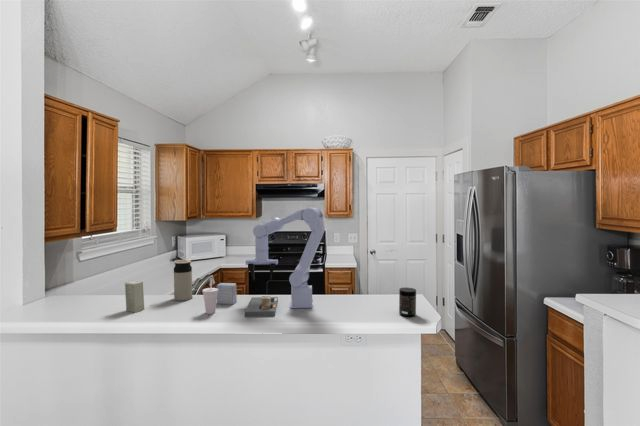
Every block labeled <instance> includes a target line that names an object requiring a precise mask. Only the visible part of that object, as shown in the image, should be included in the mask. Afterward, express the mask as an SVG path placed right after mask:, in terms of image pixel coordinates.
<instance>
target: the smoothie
mask: <svg viewBox="0 0 640 426" xmlns="http://www.w3.org/2000/svg"><path fill="white" fill-rule="evenodd" d="M209 280H210V282H209V283H210V287H207V288H203V289H202V295H203V300H204V308H205V309H204V310H205V314H207V315H212V314H215V313H216V310H217V292H218V288H217V287H213V286H212V285H213V283H212V282H213V279H212V278H210V279H209Z"/></svg>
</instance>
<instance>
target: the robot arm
mask: <svg viewBox="0 0 640 426" xmlns="http://www.w3.org/2000/svg"><path fill="white" fill-rule="evenodd" d="M295 221H304V222H305V224H307V225H308V227H309V228H310V230H311V233H310V235H309V238H308V239H307V242H306V245H305V247H304V250H303V253H302V255H301V257H300V259H299V263H298V264H297V266H296V267H295V269H294V271H292V273H291V274H290V275H289V278H288V280H289V283H290V285H291V286H290V289H291V290H290V292H291V294H290V295H291V296H290V297H291V299H290V306H289V307H290V309H306V308H307V309H308V308H310V309H311V308H313V303H314V299H313V285H309V284H308V280H309V279H310V271H311V264H312V262H313V260H314V258H315V255H316V253H317V250H318V249H319V245H320V243H321V240H322V238H323V236H324V233H325V224H324V223H325V222H324V214H323V212H322V210H321V209H320V208H319V207H315V206H313V207H307V208H304V209H300V210H296V211H294V212H292V213H289V214H288V215H286V216H284V217H281V218H280V217H275V216H273V217H271V219H269V220H268V221H263V222H262V224H261V223H260V224H259V223H257V225H255V226H254V227H253V230H252V233H253V236H254V238H255V239H254V243H255V244H254V246H255V247H254V248H255V251H254V252H255V259H246V260H245V266H247V268H248V270H249V272H250V275H251V278H252V282H255V279H256V278H255V277H256V275H255V266H256V265H269V281H273V280H272V278H273V273H274V270H275V268H276V266H277V265H278V264H279V260H278V259H272V258H269V235H271V234H273V233H276V232H277V231H281V230H282V229H283V228H284V226H285V225H288V224H291V223H292V222H295Z"/></svg>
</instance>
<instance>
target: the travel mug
mask: <svg viewBox="0 0 640 426" xmlns="http://www.w3.org/2000/svg"><path fill="white" fill-rule="evenodd" d="M173 262H174V267H173V294H174V295H173V297H174V300H175V301H178V302H183V301H185V302H186V301H189V300H191V299H192V298H193V271H192V270H193V267H192V265H191V262H192V260H191V259H178V260H174V261H173Z"/></svg>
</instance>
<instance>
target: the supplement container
mask: <svg viewBox="0 0 640 426" xmlns="http://www.w3.org/2000/svg"><path fill="white" fill-rule="evenodd" d="M398 290H399V292H398V295H399V297H398V298H399V299H398V302H399V305H398V308H399V309H398V315H400V316H401V317H404V318H413V316H414V317H415V316H416V315H417V289H416V288H413V287H400V288H399V289H398Z"/></svg>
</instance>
